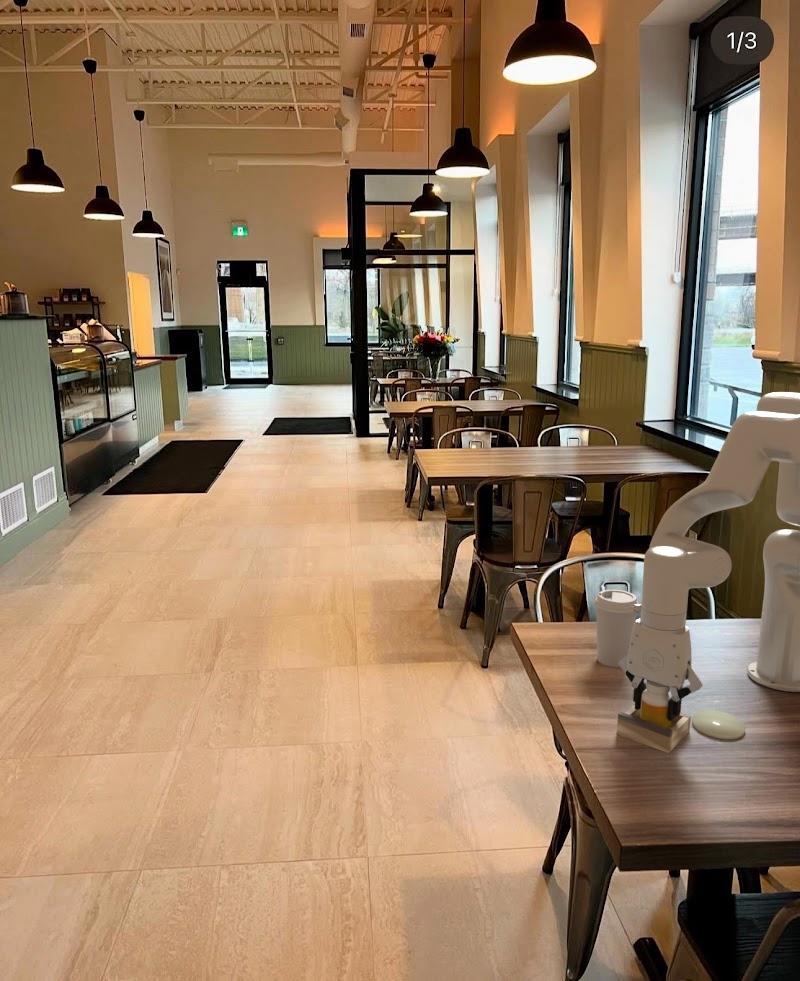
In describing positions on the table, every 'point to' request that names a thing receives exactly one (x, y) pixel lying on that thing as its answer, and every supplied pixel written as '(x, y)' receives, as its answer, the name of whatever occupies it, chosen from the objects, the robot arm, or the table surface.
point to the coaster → (718, 724)
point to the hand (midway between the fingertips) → (656, 711)
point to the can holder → (652, 730)
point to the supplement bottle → (655, 704)
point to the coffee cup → (614, 625)
